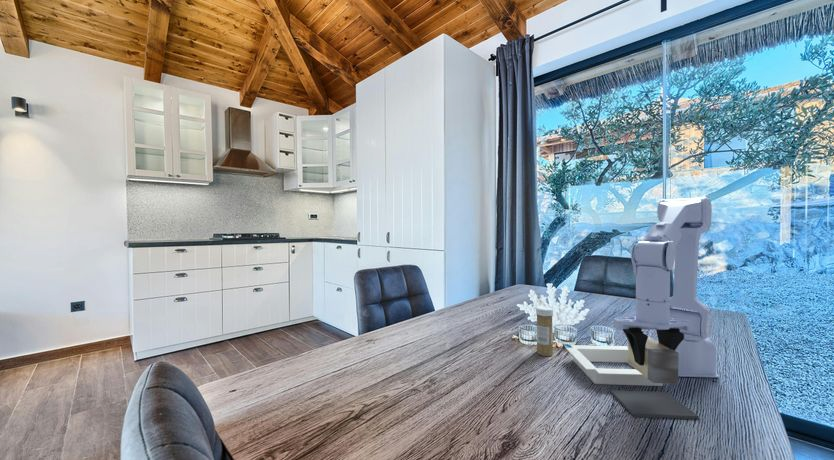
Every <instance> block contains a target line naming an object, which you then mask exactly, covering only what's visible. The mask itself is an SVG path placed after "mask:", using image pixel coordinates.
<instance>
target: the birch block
mask: <svg viewBox="0 0 834 460" xmlns="http://www.w3.org/2000/svg"><path fill="white" fill-rule="evenodd" d="M627 342H628V345H627V347H628V363H627V364H628V365H630V367H632V368H634V369H636V370H637V371H639V372H640V373H641V374H643V375H644V376H645V377H647V378H648V379H649V380H650V381H651V382H653V383H663V384H671V385H672V384H674V385H678V384H679V376H678V356H679V353H678V352H676V351H674V350H673V349H669V348H668V347H666V346H664V345H662V344H660V343H659V342H658V340H657V341H656V339H653V338H652V337H650V336H648V339H647V342H646V346H645V361H644V366H643V365H639V364H638V363H636V362H635V360H634V355H633V351H632V348H631V345H630V343H629V341H628V340H627Z"/></svg>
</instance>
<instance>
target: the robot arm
mask: <svg viewBox="0 0 834 460" xmlns="http://www.w3.org/2000/svg"><path fill="white" fill-rule="evenodd" d="M712 207H713V206H712V202H711V199H710V198H709V197H707V196H703V197H691V198H690V197H689V198H688V197H687V198H672V199H671V198H668V199H667V198H662V199H660V201H659V202H658V203H657V209H656V213H657V219H658V221H659V222H657V223H655V224H653V225H652V226H651V228H650V229H649V230H648V232H647V234H646V235H645V237H644V238H643V240H639V241H638V242H637V243H634V244H633V245H632V249H631V252H630V253H631V254H630V255H631V256H630V258H631V264H632V270H633V276H635V316H626V317H615V318H613V319H612V320H613V325H612V327H613V328H615V329H616V330H618V331H623V333H624V335H625V337H626V338H627V342H628V341H629V343H630V345H631V348H632V351H633V355H634V360H635V362H636V363H638V364H639V365H643V366H644V361H645V346H646V342H647V339H648V337H649V336H648V335H647V334H645V333H644V331H643V330H652V331H653V330H655V331H656V336H657V342H659V343H660V344H662V345H664V346H666V347H668V348H669V349H673V350H674V351H676V352H678V353H679V356H678V377H681V378H682V377H684V378H685V377H686V378H687V377H688V378H719V375H718V374H717V370H716V369H717V350H716V349H717V348H716V346H715V343H714V342H713V341H712V339H710V336H711V332H712V317H711V309H710V308H709V306H707V305H706V304H704V303H703V302H702V301H701V300H699V299H698V298H697V290H698V289H697V288H698V287H697V286H698V269H699V267H698V264H699V247H700V246H699V245H700V238H701V236H702V234H705V233H707V232H710V230H711V226H712V212H713V211H712ZM673 268H674V272H673V290H672V296H671V295H670V293H671V271H672V270H673ZM678 308H679V309H678Z"/></svg>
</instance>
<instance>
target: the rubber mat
mask: <svg viewBox="0 0 834 460" xmlns="http://www.w3.org/2000/svg"><path fill="white" fill-rule="evenodd" d="M610 394H611V395H612V396H613V397H614V398H615V399H616V400H617V401H618V402H619V403H620V404H621V405H622V407H624V409H626V410H627V411H628V412H629V414H631V416H632V417H634V418H635V417H637V418H657V419H659V418H661V419H662V418H664V419H686V420H687V419H688V420H699V417H700V416H699V415H698V414H697V413H696V412H695V411H693V410H692V409H690V408H689V407H688V406H686V405H685V404H683V402H681V401H680V400H679V399H678V398H676V397H674V396H673V395H672V394H671V393H669V392H668V391H648V390H621V389H620V390H617V389H615V390H614V389H613V390H612V389H611V390H610Z"/></svg>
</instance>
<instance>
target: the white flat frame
mask: <svg viewBox="0 0 834 460" xmlns="http://www.w3.org/2000/svg"><path fill="white" fill-rule="evenodd" d="M565 349H566V351H567V352H568V353H569V354H570V355H571V356H572V361H573V362H574V363H575V364H576V365H577V366H578V367H579V368H580V370H581V371H583V373H584V374H585V375H586V376H587V377H588V378H589V379H590V380H591V381H592V382H593V383H594V384H595V385H615V386H616V385H618V386H619V385H621V386H656V387H657V386H658V387H663V386H664V383H653V382H651V381H650V380H649V379H648V378H647V377H645V376H644V375H643V374H641V373H640V372H639V371H637V370H636V369H635V368H634V369H633V368H603V367H600V368H597V367H596V366H595V365H594V364H593V363H627V364H628V345H627V346H626V345H593V344H592V345H590V344H589V345H588V344H586V345H584V344H583V345H582V344H581V345H580V344H578V345H577V344H576V345H575V344H572V345H571V344H570V347H565Z"/></svg>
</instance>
